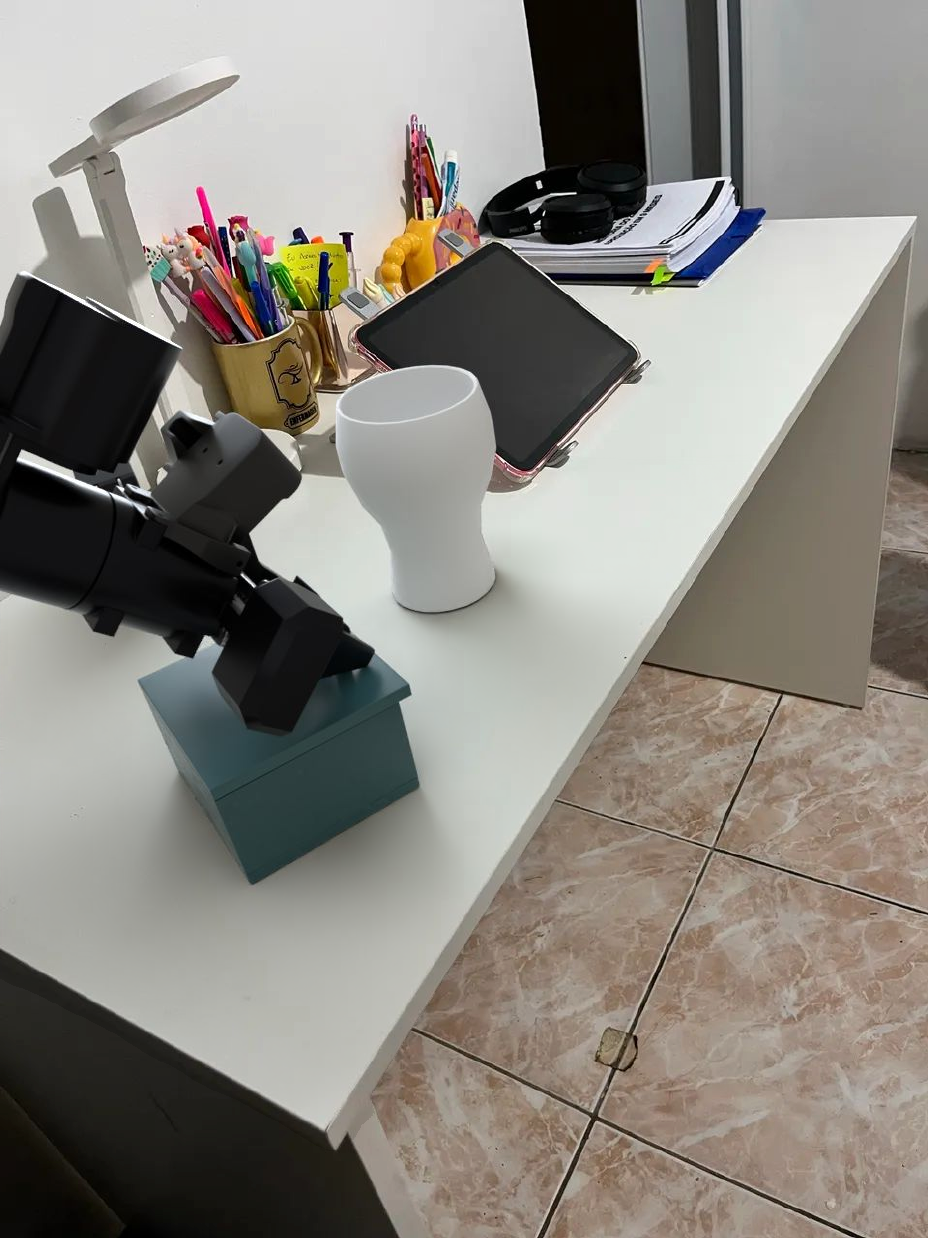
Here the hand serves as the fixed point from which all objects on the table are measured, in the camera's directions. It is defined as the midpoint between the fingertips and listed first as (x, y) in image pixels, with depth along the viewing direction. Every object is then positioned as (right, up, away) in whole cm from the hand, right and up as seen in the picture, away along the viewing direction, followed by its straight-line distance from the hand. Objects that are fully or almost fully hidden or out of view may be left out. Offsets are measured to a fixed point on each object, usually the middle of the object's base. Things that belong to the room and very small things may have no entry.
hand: (348, 636), depth 54 cm
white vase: (+5, +4, +17) cm, 18 cm away
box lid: (-4, -3, -1) cm, 5 cm away
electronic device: (-20, +5, +26) cm, 33 cm away
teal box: (-3, -8, +2) cm, 9 cm away
